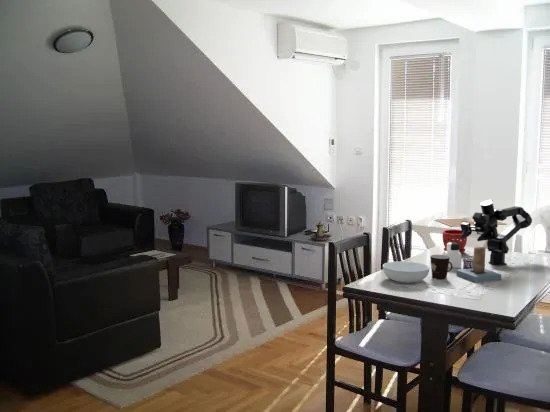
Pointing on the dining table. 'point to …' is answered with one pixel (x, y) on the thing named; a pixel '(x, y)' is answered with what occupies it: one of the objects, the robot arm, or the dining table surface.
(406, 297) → the dining table surface
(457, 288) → the dining table surface
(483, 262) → the walnut peg
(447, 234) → the plant pot
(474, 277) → the slate holder block
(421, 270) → the serving bowl
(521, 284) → the dining table surface
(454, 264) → the medicine bottle
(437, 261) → the coffee mug
